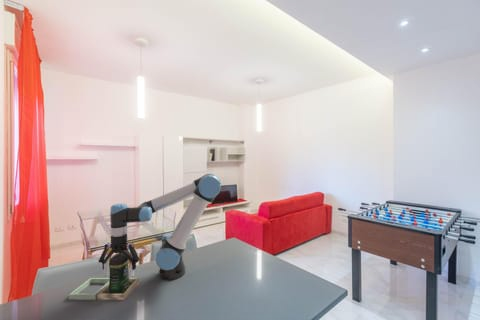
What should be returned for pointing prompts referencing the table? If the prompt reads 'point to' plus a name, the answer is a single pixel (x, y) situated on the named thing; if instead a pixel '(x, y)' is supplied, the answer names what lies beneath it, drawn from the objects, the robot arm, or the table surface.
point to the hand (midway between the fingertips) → (119, 275)
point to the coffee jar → (118, 274)
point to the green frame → (88, 296)
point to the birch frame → (104, 296)
